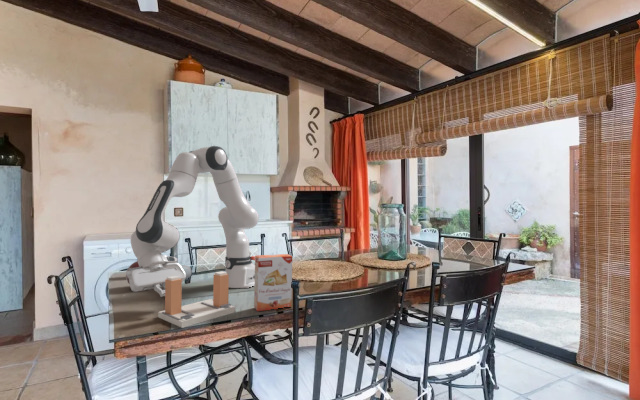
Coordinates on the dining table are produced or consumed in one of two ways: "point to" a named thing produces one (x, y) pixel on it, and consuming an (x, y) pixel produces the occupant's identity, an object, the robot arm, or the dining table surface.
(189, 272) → the ceramic mug
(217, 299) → the tan tall bar
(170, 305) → the orange rectangular block
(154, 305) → the dining table surface
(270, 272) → the cracker box
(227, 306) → the white base plate
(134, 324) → the dining table surface
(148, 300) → the dining table surface
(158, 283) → the robot arm
